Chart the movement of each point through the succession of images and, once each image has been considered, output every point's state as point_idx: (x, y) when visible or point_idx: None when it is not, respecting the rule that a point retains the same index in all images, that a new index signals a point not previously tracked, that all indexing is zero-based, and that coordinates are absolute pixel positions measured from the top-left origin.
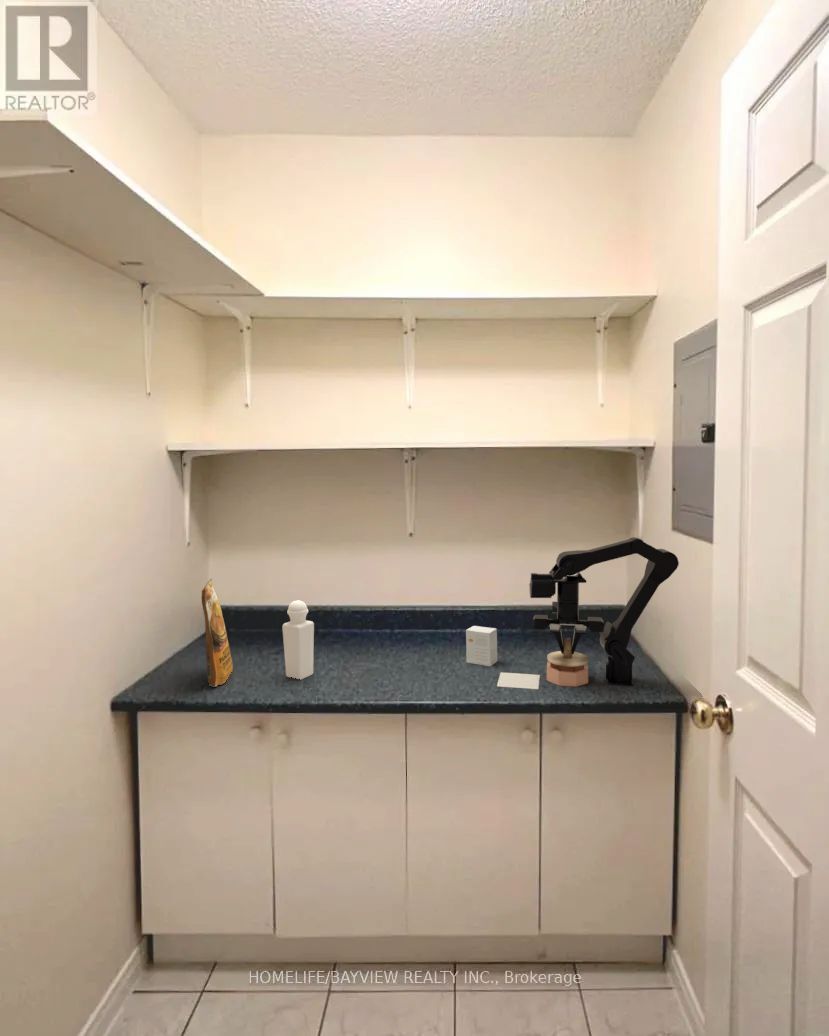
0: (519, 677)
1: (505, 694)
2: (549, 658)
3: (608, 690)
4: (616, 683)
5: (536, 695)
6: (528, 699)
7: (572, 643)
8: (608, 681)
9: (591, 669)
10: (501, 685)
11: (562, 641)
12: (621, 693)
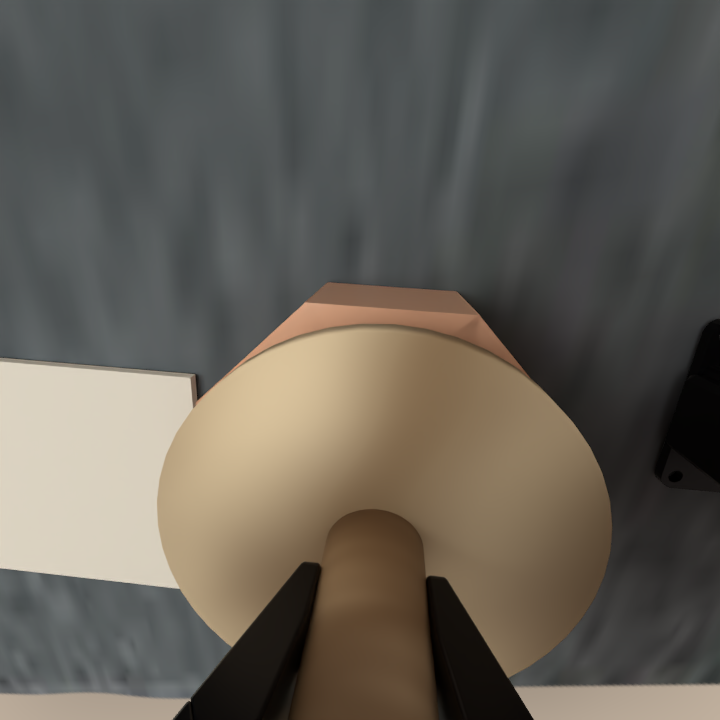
0: (70, 435)
1: (66, 628)
2: (189, 593)
3: (613, 563)
4: (713, 489)
5: (209, 634)
6: (179, 671)
7: (454, 704)
8: (667, 474)
9: (630, 146)
10: (10, 557)
11: (269, 712)
12: (677, 597)
